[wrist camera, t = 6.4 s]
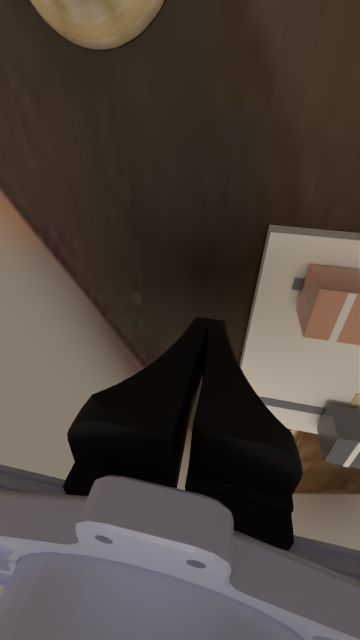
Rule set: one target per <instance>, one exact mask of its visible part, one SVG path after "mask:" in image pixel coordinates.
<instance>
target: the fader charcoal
mask: <svg viewBox="0 0 360 640" xmlns="http://www.w3.org/2000/svg"><path fill="white" fill-rule="evenodd" d="M317 431H318V436H319V440H320V445H321V449H322V454H323V459H324V462H329V463H334V464H339V465H343V466H345V467H354V468H359V469H360V409H356V408H350V407H345V406H339V405H333V404H328V406H327V408H326V410H325V412H324V414H323V416H322V418H321V420H320V422H319V423H318V425H317Z"/></svg>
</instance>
